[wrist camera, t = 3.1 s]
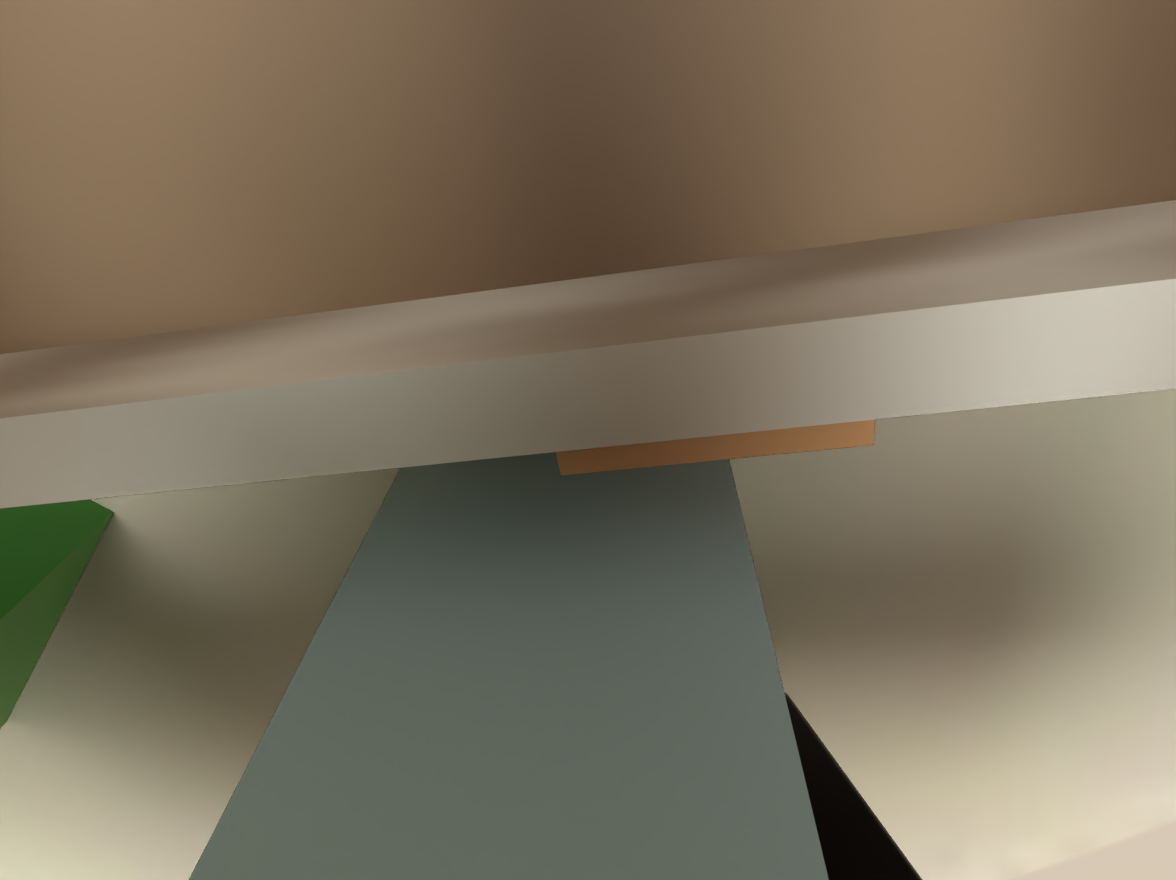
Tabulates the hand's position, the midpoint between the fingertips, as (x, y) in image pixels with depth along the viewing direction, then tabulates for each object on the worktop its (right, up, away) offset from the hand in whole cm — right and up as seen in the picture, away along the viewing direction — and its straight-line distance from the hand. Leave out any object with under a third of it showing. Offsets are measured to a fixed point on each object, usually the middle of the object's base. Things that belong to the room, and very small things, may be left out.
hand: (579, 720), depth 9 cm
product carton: (0, +2, +3) cm, 3 cm away
